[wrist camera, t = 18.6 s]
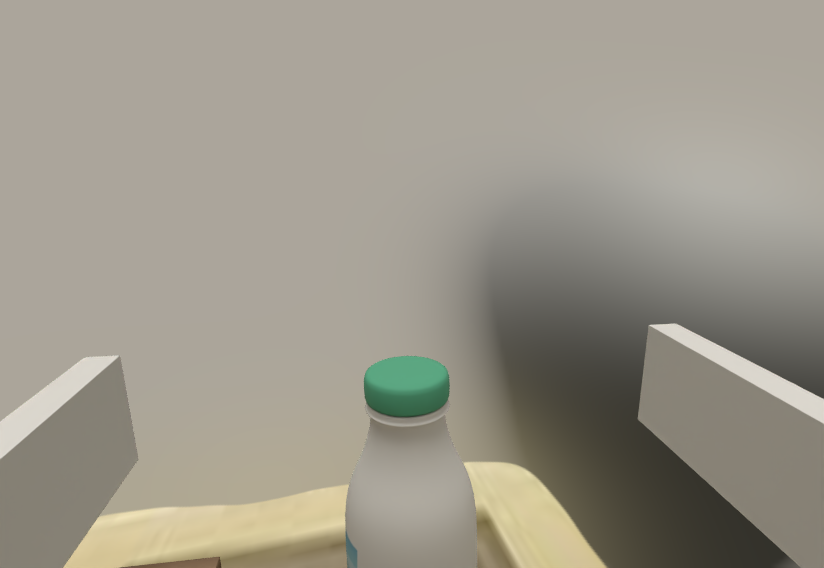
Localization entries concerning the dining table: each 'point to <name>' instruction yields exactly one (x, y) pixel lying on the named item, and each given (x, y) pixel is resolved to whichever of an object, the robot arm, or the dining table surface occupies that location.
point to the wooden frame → (186, 564)
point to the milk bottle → (409, 475)
